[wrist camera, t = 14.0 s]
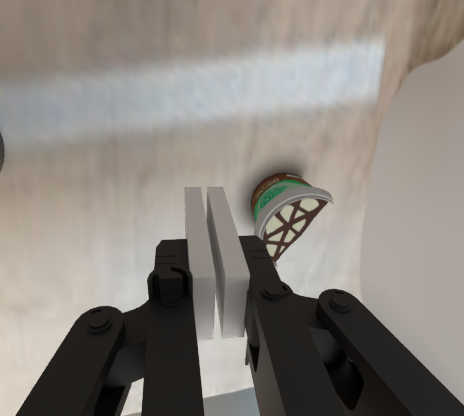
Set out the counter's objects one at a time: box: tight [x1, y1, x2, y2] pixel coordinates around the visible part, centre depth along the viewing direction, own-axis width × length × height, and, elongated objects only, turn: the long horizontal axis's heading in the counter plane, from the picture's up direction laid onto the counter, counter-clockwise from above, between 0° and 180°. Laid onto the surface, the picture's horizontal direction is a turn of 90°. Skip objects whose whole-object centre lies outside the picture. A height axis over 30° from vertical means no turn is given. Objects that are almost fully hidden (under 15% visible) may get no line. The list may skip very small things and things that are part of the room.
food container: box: [251, 173, 334, 267], centre depth 45 cm, size 12×6×10 cm, turn 144°
